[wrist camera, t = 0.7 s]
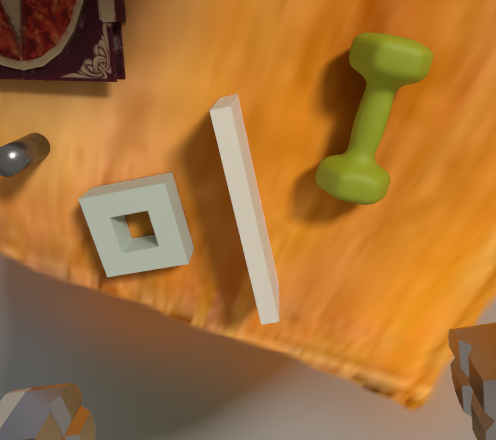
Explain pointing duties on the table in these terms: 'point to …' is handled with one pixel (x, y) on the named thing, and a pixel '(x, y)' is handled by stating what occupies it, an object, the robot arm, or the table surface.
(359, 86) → the table surface
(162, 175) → the sliding block
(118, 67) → the book
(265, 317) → the wall
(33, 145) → the dowel
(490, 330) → the robot arm
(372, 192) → the dumbbell
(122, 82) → the table surface
